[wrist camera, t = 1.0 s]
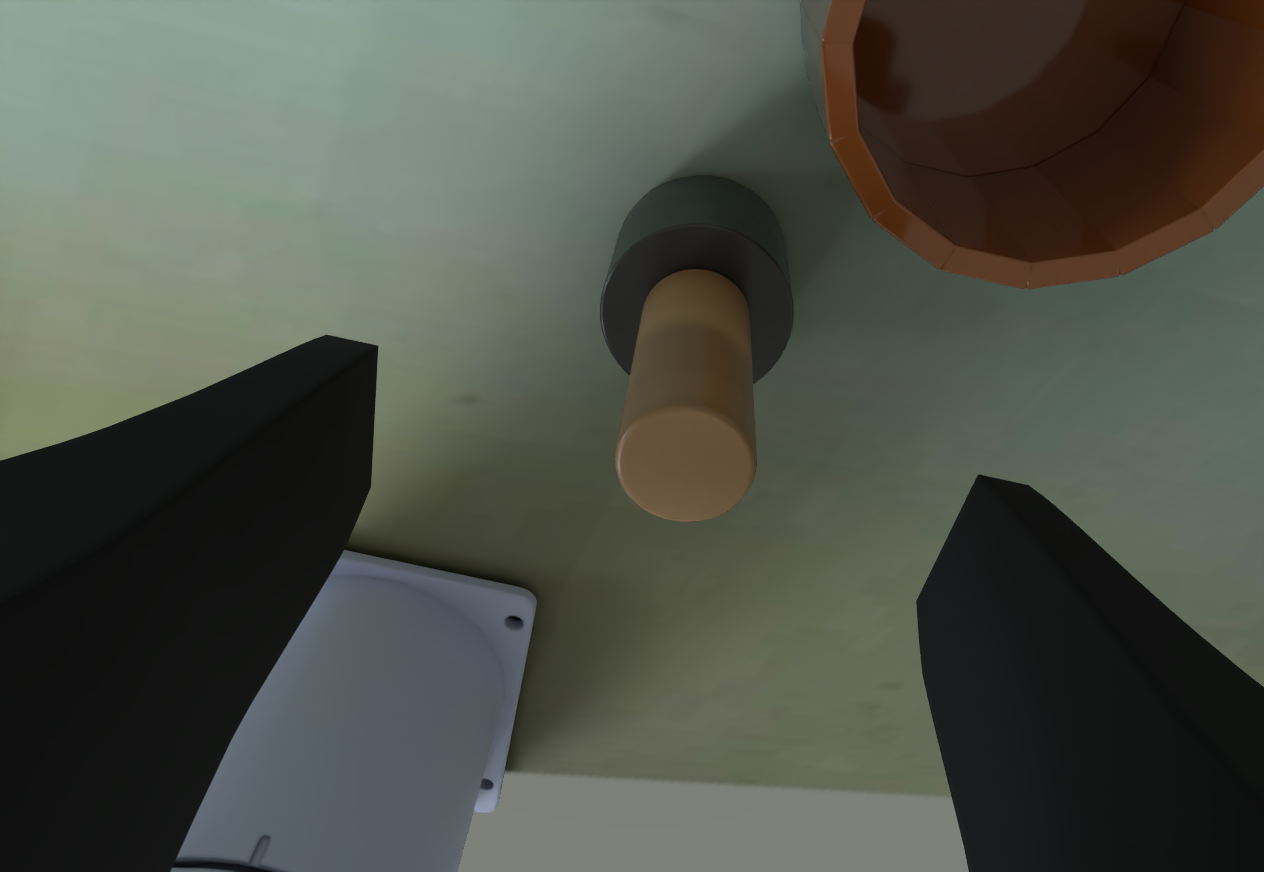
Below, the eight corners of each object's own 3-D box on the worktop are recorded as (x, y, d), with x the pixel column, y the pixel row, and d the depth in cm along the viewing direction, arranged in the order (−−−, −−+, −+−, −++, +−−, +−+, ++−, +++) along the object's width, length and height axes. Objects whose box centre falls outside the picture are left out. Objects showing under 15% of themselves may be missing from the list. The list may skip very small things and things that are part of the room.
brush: (759, 350, 21) (774, 588, 14) (602, 315, 21) (540, 538, 14) (807, 196, 19) (850, 386, 12) (634, 157, 19) (580, 326, 12)
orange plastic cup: (1091, 222, 19) (1197, 329, 14) (757, 146, 18) (765, 232, 14) (1288, -183, 15) (1508, -199, 11) (873, -284, 15) (931, -340, 10)
